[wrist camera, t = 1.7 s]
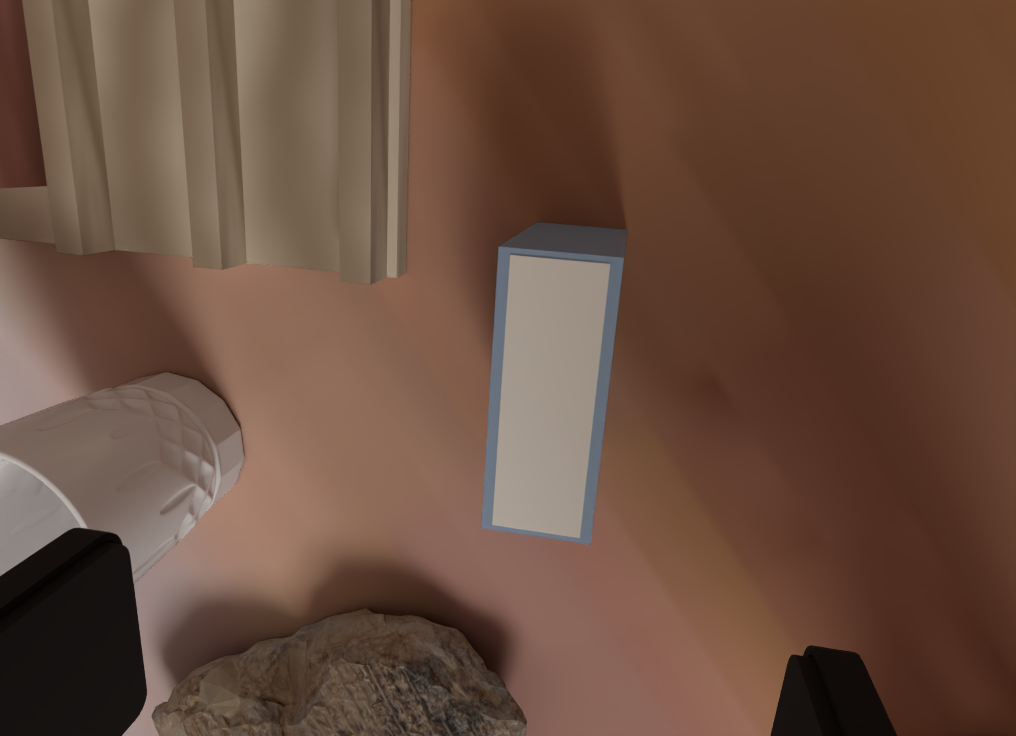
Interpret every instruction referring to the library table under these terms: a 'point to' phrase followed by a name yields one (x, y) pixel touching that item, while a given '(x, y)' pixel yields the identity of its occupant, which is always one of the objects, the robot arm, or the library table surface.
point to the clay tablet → (347, 685)
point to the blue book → (550, 378)
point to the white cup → (117, 467)
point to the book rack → (209, 130)
